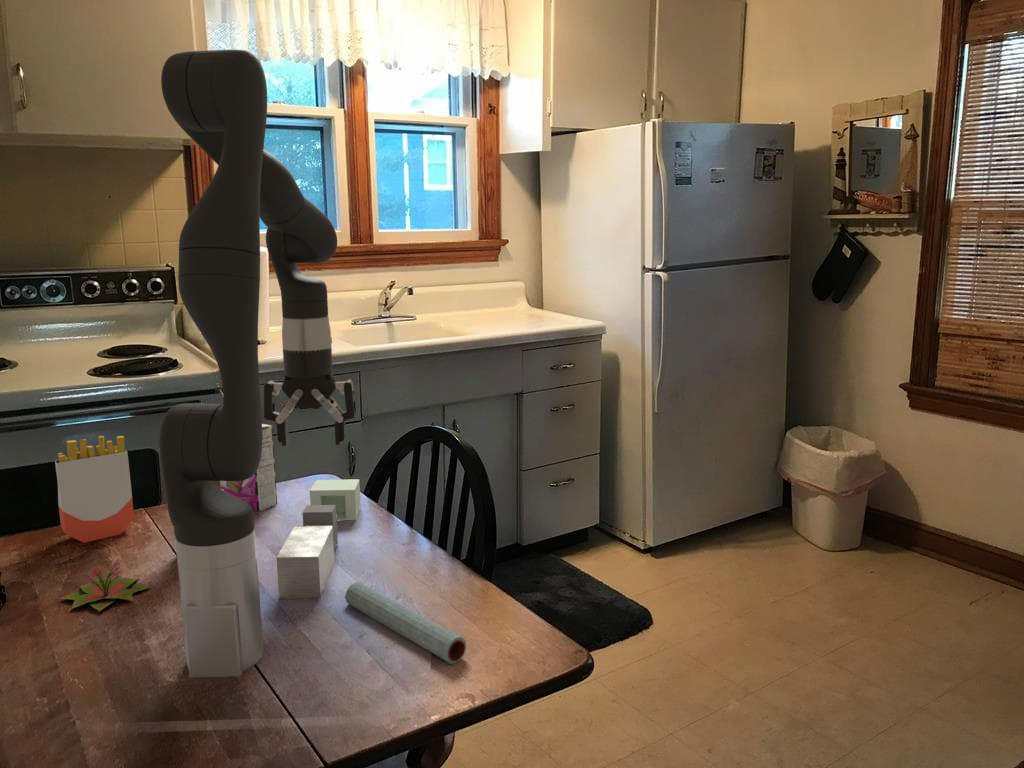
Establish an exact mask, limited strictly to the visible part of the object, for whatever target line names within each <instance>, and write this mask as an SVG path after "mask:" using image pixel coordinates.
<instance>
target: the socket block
mask: <svg viewBox="0 0 1024 768" xmlns="http://www.w3.org/2000/svg"><path fill="white" fill-rule="evenodd" d="M309 499H310V501H309V502H310V504H309V505H336V514H337V520H339V521H338V522H344V521H343V520H356V519H357V520H358V517H359V515H358V514H360V512H361V509H362V508H361V507H362V505H361V487H360V479H359V478H358V479H357V478H356V479H355V478H353V479H351V478H350V479H316V480H315V481H314V483H313V484H312V486H311V488H310V489H309ZM360 508H361V509H360ZM359 511H360V512H359ZM357 516H358V517H357ZM340 520H342V521H340ZM357 520H356V521H357Z"/></svg>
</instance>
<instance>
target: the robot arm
mask: <svg viewBox="0 0 1024 768" xmlns="http://www.w3.org/2000/svg"><path fill="white" fill-rule="evenodd" d="M160 79H161V80H160V85H161V93H162V97H163V100H164V103H165V105H166V107H167V110H168V112H169V113H170V115H171V116H172V118H173V119H174V121H175V122H176V124H177V125H178V126H179V127H180V129H181V130H183V132H184V133H185V134H186V135H187V136H188V137H190V139H192V140H193V142H194V143H195V144H196V145H198V147H200V148H201V150H202V151H203V152H204V153H206V155H208V157H209V158H210V159H211V160H212V161H213V162H214V163H215V164H216V165H217V167H216V170H215V173H214V175H213V177H212V179H211V180H210V183H208V185H207V188H205V190H204V192H203V193H202V195H201V196H200V198H199V200H198V201H197V203H196V204H195V205H194V206H193V209H192V210H191V211H190V214H189V215H188V216H187V219H186V221H185V223H184V225H183V227H182V229H181V232H180V235H179V240H178V273H177V274H178V278H177V279H178V291H179V295H180V298H181V300H182V301H181V302H182V303H183V305H184V307H185V309H186V311H187V313H188V314H189V316H190V318H191V319H192V321H193V323H194V324H195V326H196V328H197V329H198V330H199V332H200V334H201V335H202V337H203V338H204V340H205V341H206V343H207V345H208V346H209V348H210V351H211V353H212V355H213V356H214V359H215V361H216V364H217V367H218V371H219V375H220V379H221V380H220V381H221V387H222V396H223V397H222V401H223V403H198V402H197V403H194V402H193V403H190V402H188V403H187V402H186V403H179V404H175V405H173V406H172V407H170V408H169V409H168V410H167V412H166V413H165V415H164V417H163V419H162V422H161V425H160V430H159V441H158V443H159V457H160V464H161V465H160V466H161V470H162V471H161V472H162V477H163V483H164V490H165V496H166V503H167V510H168V511H167V512H168V516H169V519H170V522H171V524H172V526H173V530H174V542H175V541H176V547H175V550H176V559H177V560H176V561H177V563H176V564H177V573H178V583H179V584H178V585H179V592H180V593H179V595H180V607H181V614H182V615H181V617H182V625H183V626H182V627H183V636H184V647H185V656H186V657H185V658H186V666H187V669H188V677H189V678H219V677H220V678H222V677H223V678H224V677H227V678H228V677H229V678H230V677H240V676H242V674H243V673H244V672H245V671H247V670H248V669H250V668H251V667H254V666H255V665H256V664H257V663H258V662H259V661H260V660H261V659H262V658H263V655H264V651H265V649H264V638H263V625H262V624H263V623H262V614H261V611H262V610H261V600H260V599H261V597H260V596H261V595H260V585H259V584H260V583H259V571H258V558H257V557H258V556H257V542H256V529H255V527H256V525H255V514H254V510H253V509H252V507H251V506H250V505H249V504H248V503H247V502H245V501H243V500H241V499H239V498H236V497H234V496H232V495H230V494H228V493H226V492H224V491H222V490H221V489H220V488H219V487H218V486H217V485H216V484H215V483H214V482H219V481H245V480H248V479H250V478H251V477H253V475H254V474H255V473H256V471H257V469H258V466H259V463H260V459H261V453H262V424H263V417H264V420H266V421H272V422H274V423H275V424H276V431H277V432H276V433H277V441H278V443H281V446H282V447H288V445H289V444H290V435H289V433H290V432H289V421H288V420H287V418H288V417H289V415H290V414H291V412H293V410H294V408H295V407H296V408H298V409H299V410H306V409H309V408H310V409H313V410H319V409H320V408H323V409H324V410H325V411H326V412H327V413H328V414H330V416H332V418H333V419H334V420H335V422H334V436H335V437H334V438H335V439H334V441H335V442H334V443H335V446H341V444H342V443H343V442H345V440H346V435H347V434H346V421H347V420H352V419H354V418H355V416H356V414H357V404H356V397H355V396H356V395H355V394H356V393H355V386H354V381H353V380H352V379H347V380H346V381H336V380H335V378H334V371H333V369H334V368H333V351H332V350H333V348H332V344H333V340H332V339H333V337H332V331H331V325H330V319H329V303H328V301H329V299H328V289H327V284H326V283H325V281H324V280H322V279H319V278H315V277H310V276H307V275H304V274H303V273H302V272H301V270H300V269H299V267H298V265H297V264H304V263H306V264H309V263H311V264H314V263H315V264H319V263H320V264H321V263H325V262H328V261H329V260H330V259H332V258H333V256H334V255H335V254H336V251H337V247H338V236H337V231H336V230H335V227H334V225H333V223H332V222H331V220H330V219H329V217H328V216H327V215H326V214H325V213H324V212H323V211H321V209H319V208H318V207H317V206H316V205H314V203H313V202H312V201H311V200H309V199H308V198H307V197H305V196H304V195H303V193H302V190H301V189H300V187H299V185H298V184H297V181H296V179H295V178H294V176H293V174H292V173H291V171H290V170H289V169H288V168H287V167H286V166H285V165H284V163H283V162H281V160H279V159H278V158H276V157H275V156H274V155H273V154H272V153H270V152H269V151H267V150H266V149H264V148H265V141H266V140H265V139H266V129H267V117H268V87H267V85H268V84H267V80H266V79H267V78H266V75H265V71H264V68H263V65H262V63H261V61H260V59H259V58H258V57H257V55H256V54H254V53H253V52H251V51H250V50H245V49H214V50H213V49H211V50H191V51H190V50H189V51H183V52H178V53H177V52H176V53H173V54H172V55H171V56H169V57H168V58H167V59H166V60H165V62H164V64H163V67H162V69H161V77H160ZM260 220H261V222H262V223H263V224H264V225H265V226H266V232H265V244H266V249H267V252H268V255H269V257H270V258H269V259H270V262H271V263H272V266H273V269H274V273H275V274H276V278H277V282H278V286H279V290H280V295H281V296H280V297H281V313H282V314H281V315H282V326H281V343H282V356H283V357H282V358H283V359H282V360H283V377H284V379H283V382H275V380H269V381H268V382H266V383H265V384H264V386H263V417H262V402H261V387H260V386H261V385H260V384H261V383H260V372H259V371H260V369H259V351H258V350H259V346H258V345H259V311H260V310H259V309H260V307H259V306H260V287H261V239H260V238H261V237H260V236H261V232H260V231H261V229H260V227H261V226H260V224H261V223H260ZM281 390H282V392H283V393H284V395H286V397H287V398H288V399H289V400H288V401H287V402H286V404H285V405H284V407H282V410H281V411H280V412H278V411H276V397H277V396H278V395H279V394H280V391H281ZM335 390H339V393H340V395H342V396H344V400H345V401H344V402H345V410H342V408H341V407H340V406H339V404H338V402H336V400H335V399H334V397H332V395H333V394H334V392H335Z"/></svg>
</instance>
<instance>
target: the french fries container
mask: <svg viewBox="0 0 1024 768" xmlns="http://www.w3.org/2000/svg"><path fill="white" fill-rule="evenodd" d="M77 445H78V444H77V441H76V440H75V439H73V440H72V439H71V440H66V449H67V450H66V451H67V456H66V454H63V452H59V453H57V457H58V462H57V461H56V460H54V464H55V473H56V479H57V481H56V482H57V500H58V501H57V504H58V512H59V513H58V514H59V520H60V522H59V523H60V527H61V529H62V530H63V532H64V534H66V535H67V536H69V537H71V538H73V539H75V540H77V541H79V542H81V543H83V544H85V543H88V542H93V541H98V540H100V539H101V540H102V539H106V538H109V537H114V536H115V537H116V536H120V535H122V534H123V533H124V531H125V530H126V529H127V528H128V527H129V526H130V525H131V524H132V523H133V521H134V520H135V514H134V512H135V511H134V504H133V503H134V501H133V494H132V493H133V492H132V482H131V475H130V463H129V456H128V450H127V449H126V447H125V436H123V435H119V436H116V445H114V444H113V440H107V441H106V447H105V436H104V435H99V436H98V445H96V446H95V447H96V452H95V447H94V446H93V445H87V439H84V438H83V439H82V438H81V439H80V445H79V447H77Z"/></svg>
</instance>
